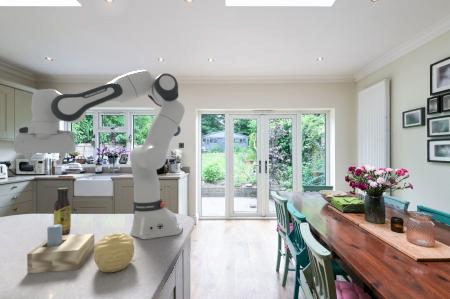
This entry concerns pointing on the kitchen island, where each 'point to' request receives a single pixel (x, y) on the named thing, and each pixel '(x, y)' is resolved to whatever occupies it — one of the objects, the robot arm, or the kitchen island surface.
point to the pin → (54, 235)
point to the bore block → (61, 254)
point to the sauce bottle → (62, 210)
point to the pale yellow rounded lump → (114, 252)
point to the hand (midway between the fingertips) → (46, 164)
